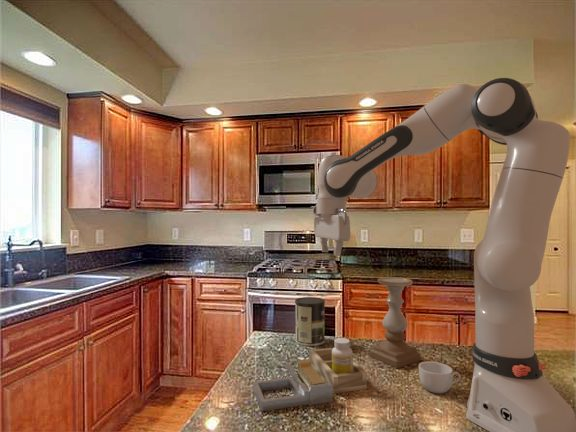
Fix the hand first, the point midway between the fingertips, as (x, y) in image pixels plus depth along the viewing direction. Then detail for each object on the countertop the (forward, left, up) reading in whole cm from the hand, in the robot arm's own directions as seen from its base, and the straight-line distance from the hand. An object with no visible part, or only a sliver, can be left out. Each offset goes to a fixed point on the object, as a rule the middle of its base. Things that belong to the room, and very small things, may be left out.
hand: (330, 253), depth 109 cm
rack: (-13, +4, -32) cm, 34 cm away
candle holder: (-7, -18, -32) cm, 37 cm away
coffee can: (+14, +2, -32) cm, 35 cm away
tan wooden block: (-18, +13, -32) cm, 38 cm away
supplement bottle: (-17, +4, -31) cm, 35 cm away
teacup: (-27, -18, -32) cm, 45 cm away
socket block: (-15, +18, -31) cm, 39 cm away
